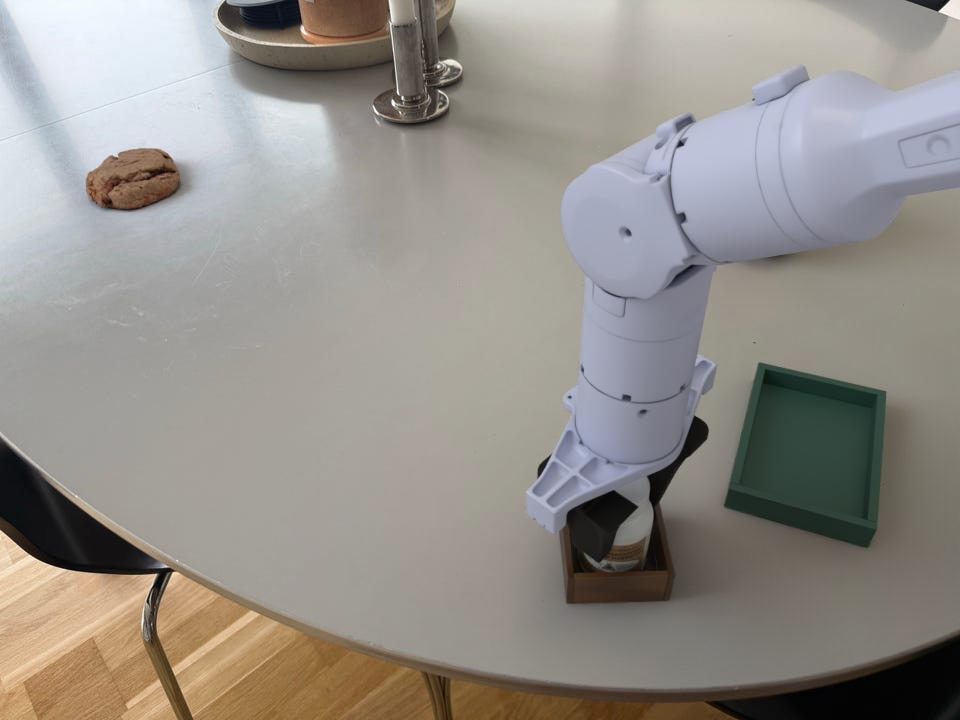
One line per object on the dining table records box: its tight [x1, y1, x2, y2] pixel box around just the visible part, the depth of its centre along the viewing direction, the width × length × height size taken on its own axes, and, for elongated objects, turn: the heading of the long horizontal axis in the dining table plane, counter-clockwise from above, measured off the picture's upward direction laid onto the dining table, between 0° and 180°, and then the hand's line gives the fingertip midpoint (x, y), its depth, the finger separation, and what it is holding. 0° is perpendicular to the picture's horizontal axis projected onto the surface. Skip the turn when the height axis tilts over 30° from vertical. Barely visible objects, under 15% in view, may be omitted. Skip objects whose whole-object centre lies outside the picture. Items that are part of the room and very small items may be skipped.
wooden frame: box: [558, 501, 676, 604], centre depth 52 cm, size 6×6×3 cm
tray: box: [723, 361, 887, 548], centre depth 58 cm, size 13×9×2 cm
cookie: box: [85, 147, 181, 210], centre depth 89 cm, size 10×11×3 cm
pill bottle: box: [576, 476, 653, 573], centre depth 50 cm, size 4×4×8 cm
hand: (615, 524), depth 50 cm, fingers closed on pill bottle, 4 cm apart
